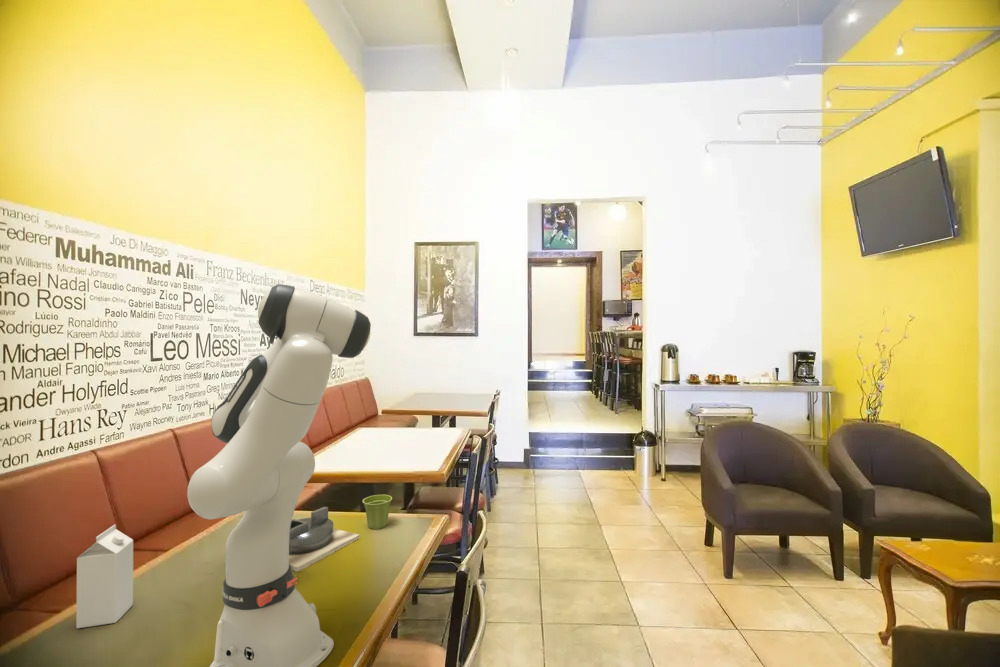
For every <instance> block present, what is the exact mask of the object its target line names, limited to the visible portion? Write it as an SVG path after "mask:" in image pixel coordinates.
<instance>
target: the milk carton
mask: <svg viewBox="0 0 1000 667" xmlns="http://www.w3.org/2000/svg"><path fill="white" fill-rule="evenodd" d="M95 541H96V542H94V543H93V544H91V546H89V548H87V549H86V550H85V551H84V552H82V553H81V554H80V555H78V557H77V558H76V616H75V617H76V621H75V622H76V624H75V625H76V626H75V627H76V629H81V628H82V629H83V628H90V627H96V626H103V625H109V624H115V623H117V622H118V621H119V620H121V618H122V617H123V616H124V615H125V614H126V613H127V612H128V611H129V610H130V608H131V607H132V606H134V539H133V538H131V537H130V536H128V535H126V534H124V533H123V532H121V531H120V530H118V529H117V524H115V523H114V524H113V525H112V526H110V527H109V528H107V529H106V530H104V531H103V532H102V533H100V534H98V535H97V536H95Z"/></svg>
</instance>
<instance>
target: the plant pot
mask: <svg viewBox="0 0 1000 667" xmlns="http://www.w3.org/2000/svg"><path fill="white" fill-rule="evenodd" d="M392 500H393V497H392V496H391V495H388V494H375V495H370V496H367V497H365V498H363V499H362V504H363V506H364V508H365V514H366V515H365V516H366V521H367V528H369V529H373V530H379V529H383V528H384V527H386V526H387V525H388V521H389V520H388V519H389V512H390V505H391V502H392Z"/></svg>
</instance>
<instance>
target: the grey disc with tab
mask: <svg viewBox="0 0 1000 667" xmlns="http://www.w3.org/2000/svg"><path fill="white" fill-rule="evenodd" d="M310 512H311V513H310V516H311V517H305V518H299V519H296V518H292V521H291V526H290V533H289V554H301V553H306V552H311V551H314V550H317V549H320V548H322V547H324V546H326V545H327V544H329V543H330V542H331V541H332V540H333V528H334V521H333V520H332V519H330V518H329V507H328V506H323V507H320V508H318V509H315V510H313V511H310Z"/></svg>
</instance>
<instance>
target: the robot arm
mask: <svg viewBox="0 0 1000 667" xmlns="http://www.w3.org/2000/svg"><path fill="white" fill-rule="evenodd" d="M257 317H258V321H257V322H258V325H259V327H260V329H261V331H262V332H263V333H264V335H266V336H267V337H268V338H269V341H268V343H269V344H271V345H270V347H268V348H267V349H266V350H265V351H263V353H261V354H259V355H258V356H255V357H254V358H253V359H252V360H251V361H250V362H249V363H248V365H247V366H246V367H245V369H244V370H243V372H242V373H241V374H240V377H239V378H238V379H237V381H236V383H234V385H233V387H232V389H231V390H230V391H229V393H228V395H227V396H226V398H225V399H224V400H223V401H222V402H221V403H220V404H219V405H218V406H217V408H215V410H214V411H213V413H212V416H211V420H210V425H211V426H210V427H211V428H210V429H211V432H212V434H213V436H214V437H215V438H217V439H218V440H219V441H221V442H223V443H225V446H223V448H222V449H221V450H220V451H219V452H218V453H217V454H216V455H215V456H214V457H213V458H211V459H210V460H208V461H207V462H206V463H205V464H203V465H202V466H201V467H199V468H198V469H196V470H195V471H194V472H193V474H191V477H190V479H189V482H188V486H187V491H186V492H187V493H186V495H187V500H188V504H189V506H190V508H191V509H192V510H193V511H194V512H195V513H196V515H198V516H199V517H201V518H202V519H206V520H215V519H216V520H217V519H222V518H227V517H231V516H235V515H239V514H242V513H243V515H242V517H241V519H240V520H239V522H238V523H237V524H236V525H235V527H234V528H233V529H232V530H231V532H230V533H229V535H228V536H227V539H226V543H225V578H224V580H223V582H222V584H223V587H222V592H221V593H222V602H223V604H224V606H223V609H222V612H221V615H220V618H219V620H218V623H217V625H216V626H217V627H216V634H215V636H216V637H215V647H214V655H213V656H214V657H213V661H212V662H211V664H210V665H209V667H319V665H320V664H321V663H323V661H324V660H325V659H326V658H327V657H328V656H329V655H330V654H331V652H332V650H333V648H334V645H335V643H334V639H333V638H332V637H331V636H329V635H328V634H326V633H325V632H324V631H322V630H321V625H320V620H319V617H318V614H317V607H316V605H315V604H314V603H313V602H311V603H308V602H307V601H306V600H305V598H304V597H303V596H302V594H301V592H299V591H298V590H297V588H296V584H298V583H299V582H298V581H297V580H298V579H299V578H298V576H296V577H294V572H293V570H292V569H291V566H290V564H289V533H290V526H291V521H292V520H293V516H294V513H295V509H296V506H297V504H298V501H299V498H300V496H301V493H302V492H303V490H304V487H305V486H306V484H308V483H309V482H308V481H310V479H311V478H312V476H313V474H314V471H315V469H316V468H315V467H316V458H315V455H314V453H313V451H312V449H311V448H310V446H309V445H308V444H306V443H304V442H303V441H302V440H303V439H304V437H305V436H306V435H307V434H308V432H309V430H310V427H311V425H312V423H313V420H314V418H315V415H316V413H317V411H318V408H319V406H320V404H321V403H322V402H321V401H322V399H323V396H324V393H325V392H326V388H327V385H328V382H329V378H330V374H331V370H332V367H333V365H332V364H333V361H334V360H333V358H334V357H333V355H335V356H338V357H339V358H347V359H354V358H355V357H357V356H359V355H360V354H361V353H362V352H363V350H364V349H365V348H366V347H367V345H368V343H369V342H370V336H371V327H372V326H371V325H372V324H371V321H370V318H369V317H368V316H367V315H365V313H362V312H361V311H359V310H357V309H356V310H353V309H352V308H349V306H348V307H347V306H345V305H343V304H341V303H339V302H337V301H335V300H332V299H329V298H327V297H326V296H323V295H320V294H317V293H315V292H312V291H306V290H302V289H298V288H296V287H295V286H292V285H289V284H288V285H287V284H280V283H279V284H276V285H273V286H272V287H271V289H270V290H267V292H265V294H264V295H263V297H262V298H261V300H260V301H259V305H258V308H257ZM276 337H277V338H276ZM275 338H276V340H275ZM274 340H275V341H274ZM195 513H194V514H195Z"/></svg>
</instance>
